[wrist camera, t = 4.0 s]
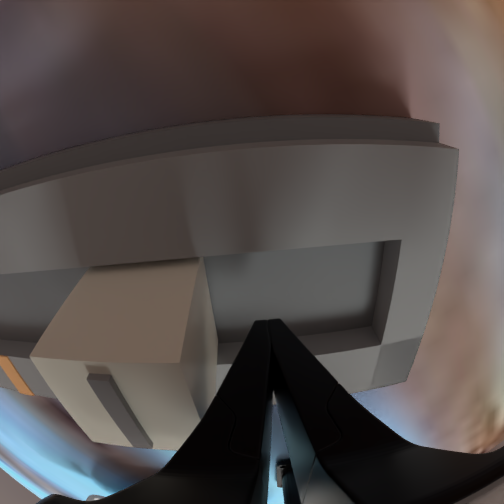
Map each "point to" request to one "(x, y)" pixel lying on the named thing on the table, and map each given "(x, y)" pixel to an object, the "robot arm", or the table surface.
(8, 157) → the table surface
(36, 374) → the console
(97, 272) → the fader knob
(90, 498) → the candlestick
